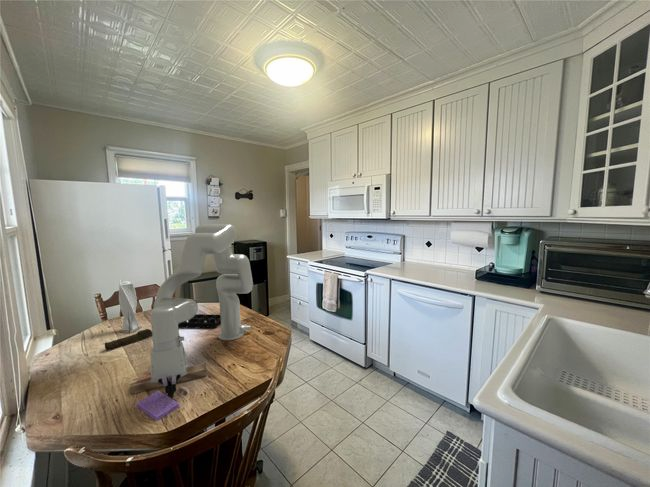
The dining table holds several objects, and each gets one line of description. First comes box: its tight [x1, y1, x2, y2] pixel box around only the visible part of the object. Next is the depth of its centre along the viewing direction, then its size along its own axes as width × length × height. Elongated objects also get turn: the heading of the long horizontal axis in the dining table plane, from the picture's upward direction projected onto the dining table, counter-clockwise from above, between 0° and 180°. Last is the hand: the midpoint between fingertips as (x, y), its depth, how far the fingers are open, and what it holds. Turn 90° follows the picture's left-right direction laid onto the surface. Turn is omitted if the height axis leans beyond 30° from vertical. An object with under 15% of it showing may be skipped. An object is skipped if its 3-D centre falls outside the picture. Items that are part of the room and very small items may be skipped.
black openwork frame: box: [178, 313, 221, 329], centre depth 151 cm, size 18×30×4 cm, turn 98°
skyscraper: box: [118, 278, 143, 334], centre depth 142 cm, size 8×8×28 cm
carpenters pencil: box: [131, 374, 151, 384], centre depth 97 cm, size 10×1×1 cm, turn 126°
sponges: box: [135, 390, 180, 422], centre depth 86 cm, size 7×13×2 cm, turn 59°
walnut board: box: [129, 362, 207, 395], centre depth 99 cm, size 24×5×3 cm, turn 114°
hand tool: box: [104, 328, 153, 352], centre depth 129 cm, size 19×4×5 cm, turn 137°
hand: (171, 393), depth 91 cm, fingers closed
